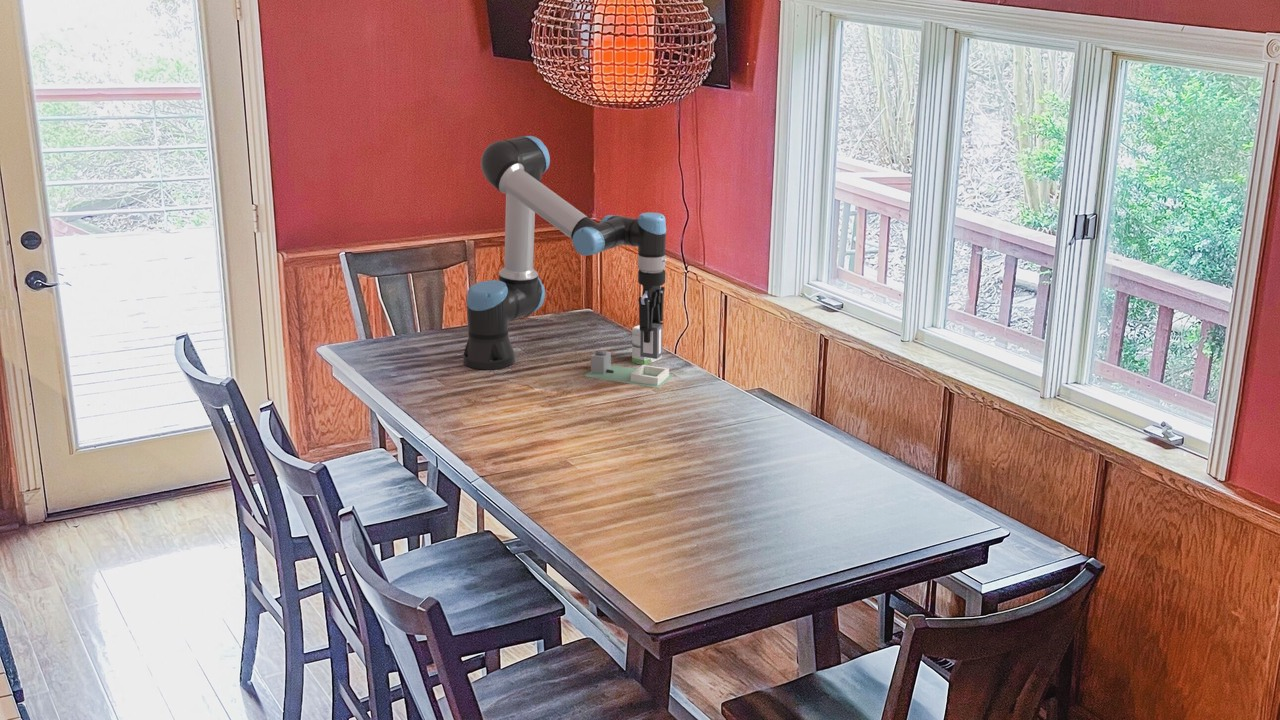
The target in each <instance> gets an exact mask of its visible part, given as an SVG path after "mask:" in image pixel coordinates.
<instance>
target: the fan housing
mask: <svg viewBox="0 0 1280 720" xmlns="http://www.w3.org/2000/svg"><path fill="white" fill-rule="evenodd" d="M611 365H612V352H611V351H607V350H604V349H603V350H601V349H599V350H595V352H594V353H592V354H591V355H590V371H591V372H594V373H601V374H604V373H606V372H610V373H613V372H614V371H613V370H610V369H611Z"/></svg>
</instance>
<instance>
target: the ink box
mask: <svg viewBox="0 0 1280 720" xmlns="http://www.w3.org/2000/svg"><path fill="white" fill-rule="evenodd" d="M631 331H632V336H631V337H632V341H631V343H632V344H631V347H632V350H631V363H634V364H637V365H641V366H642V365H649V364H651V363H653V362H656V361H658V360H662V358H663V357H662V356H663V354H662V355H661V356H660V357H659V358H657V359H654V358H647V357H640V338H641V331H640V324H638V325H635V326H633V327H632V330H631Z"/></svg>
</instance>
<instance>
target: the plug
mask: <svg viewBox="0 0 1280 720" xmlns="http://www.w3.org/2000/svg"><path fill="white" fill-rule="evenodd" d="M663 326H664V323H663V324H657V323H652V331H653V353H652V354H650V353H643V331H641V338H640V357H647V358H654V359H657V358H659V357H660V356H661V355H662V356H663V333H664V332H663Z"/></svg>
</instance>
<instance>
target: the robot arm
mask: <svg viewBox="0 0 1280 720" xmlns="http://www.w3.org/2000/svg"><path fill="white" fill-rule="evenodd" d="M482 152H483V153H482V155H481V159H480V168H481V171H482V174H483V175H484V177H485V179H486V181H488V183H489V184H491V186H493V187H494V188H495V189H496V190H498V191H499V192H500V193H502V194H505V217H504V218H505V221H504V223H505V224H504V265H503V267H502V269H501V270H499V272H498V280H497V279H491V280H489V279H488V280H486V281H485V280H482V281H478V282H476V283H474V284H472V285H471V286H470V287H469V288H468V290H467V296H466V297H467V298H466V309H467V310H466V311H467V312H466V313H467V330H468V332H467V334H468V337H467V340H466V344H465V348H464V352H463V355H462V359H463V360H462V361H463V364H464V365H465V366H466V367H469V368H470V369H471V368H472V369H477V370H489V371H490V370H499V369H504V368H507V367H510V366H513V364H514V363H515V362H516V357H515V356H516V355H515V351H514V349H513V345H512V341H511V339H510V337H509V322H512V321H515V320H517V319H521V318H523V317H528V316H530V315H531V314H533V313H535V312H537V311H538V310H540V308H542V306H543V303H544V301H545V299H546V290H545V289H546V288H545V285H544V284H543V283H542V282H543V281H542V279H541V278H539V273H538V271H536V269H535V268H534V252H535V249H534V247H535V221H536V216H535V215H536V214H537V215H538V216H540V217H541V218H542V219H544V220H545V221H546V222H548V224H550V225H551V226H553V227H554V228H556V229H557V230H558V231H560V232H561V233H562V234H564V235H565V236H566V237H568V238H569V239H570V240H572V246H573V247H574V249H575V251H576V253H578V254H579V255H580V256H584V257H585V256H586V257H587V256H592V255H593V256H594V255H597V254H599V253H601V252H604V251H607V250H611V249H614V248H616V247H620V246H623V245H624V246H625V245H626V246H629V247H630V246H631V247H637V249H638V250H637V251H638V252H637V253H638V254H637V269H638V272H637V273H638V274H637V278H638V279H637V281H638V283H637V284H639V285H641V286H642V287H643V288H642V289H643V290H642V294H641V295H642V296H639V297H638V305H639V306H638V307H639V309H638V310H639V314H638V315H639V325H640V331H643V353H650V354H652V353H653V331H652V323H657V324H663V325H664V322H663V321H664V294H665V286H664V284H665V283H666V270H665V268H666V263H667V259H666V242H667V241H666V239H667V236H666V235H667V225H666V222H667V221H666V217H665V215H664V214H662V213H659V212H642V213H640V214H639V215H638V218H633V217H628V216H627V217H626V216H621V215H617V214H615V215H614V214H613V215H612V214H609V215H605V216H604V217H603V219H601V220H600V222H598V223H597V222H596V221H594V220H593V219H592V218H590V217H588V216H587V215H586V214H584V213H583V212H582V211H580V210H579V209H577V208H576V207H575V206H573V205H572V204H571V203H570V202H569V201H566V200H565V199H564V198H562V197H561V196H559V194H557V193H555V192H554V191H553V190H551V189H550V188H549V187H548V186H546V184H544V183H542V175H544V173H546V171H547V170H548V169H549V167H550V164H551V157H550V152H549V149H548V148H547V146H546V145H545V144H544V142H543V141H542V140H541V139H539V138H537V137H536V136H534V135H533V136H532V135H524V136H523V135H520V136H517V137H513V138H508V139H503V140H498V141H494V142H492V143H491V144H489V145H488V146H487V147H486V148H485V149H484V151H482Z"/></svg>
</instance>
